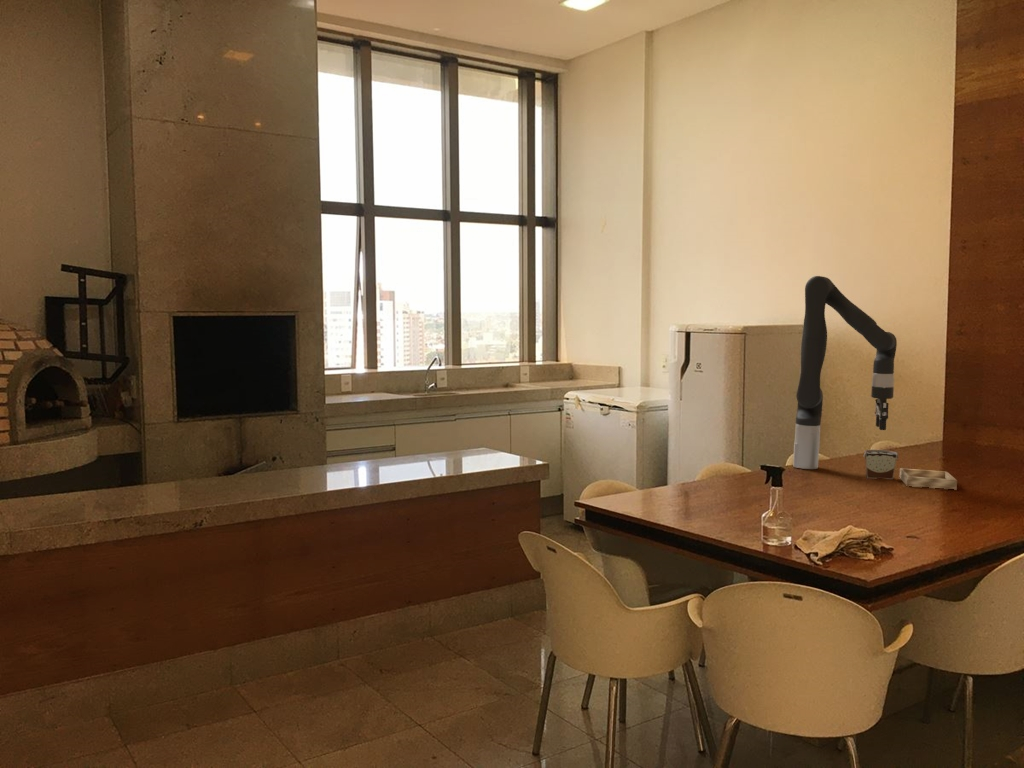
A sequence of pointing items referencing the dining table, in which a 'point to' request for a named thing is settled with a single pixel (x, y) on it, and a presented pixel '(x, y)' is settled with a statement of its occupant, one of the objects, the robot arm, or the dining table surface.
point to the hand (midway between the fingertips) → (880, 428)
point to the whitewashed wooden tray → (928, 478)
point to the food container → (880, 463)
